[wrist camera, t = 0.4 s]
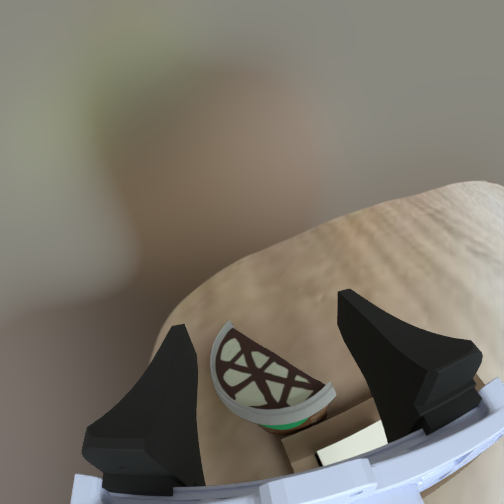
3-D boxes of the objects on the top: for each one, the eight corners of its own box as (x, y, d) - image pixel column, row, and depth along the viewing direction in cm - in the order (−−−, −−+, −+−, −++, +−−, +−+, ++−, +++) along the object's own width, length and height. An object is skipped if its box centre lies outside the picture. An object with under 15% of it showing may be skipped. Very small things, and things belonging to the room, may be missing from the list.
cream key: (406, 476, 17) (412, 472, 15) (343, 508, 16) (344, 508, 15) (377, 427, 21) (381, 419, 20) (318, 456, 21) (316, 451, 19)
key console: (499, 432, 17) (512, 423, 15) (327, 542, 15) (326, 546, 13) (445, 358, 26) (452, 344, 24) (285, 446, 25) (280, 439, 23)
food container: (216, 403, 30) (178, 360, 25) (252, 368, 33) (225, 317, 27) (298, 468, 22) (281, 448, 16) (337, 423, 25) (336, 384, 19)
